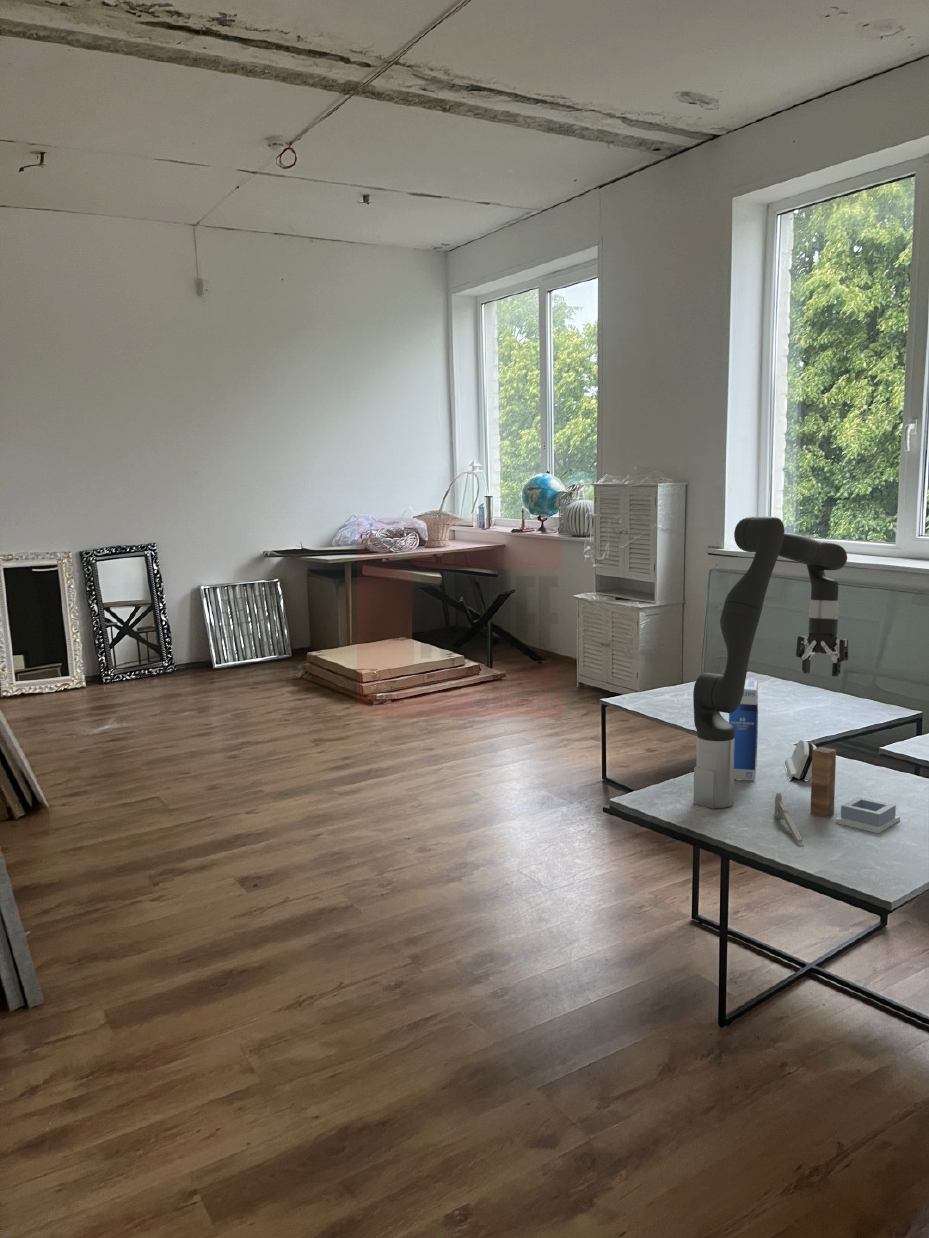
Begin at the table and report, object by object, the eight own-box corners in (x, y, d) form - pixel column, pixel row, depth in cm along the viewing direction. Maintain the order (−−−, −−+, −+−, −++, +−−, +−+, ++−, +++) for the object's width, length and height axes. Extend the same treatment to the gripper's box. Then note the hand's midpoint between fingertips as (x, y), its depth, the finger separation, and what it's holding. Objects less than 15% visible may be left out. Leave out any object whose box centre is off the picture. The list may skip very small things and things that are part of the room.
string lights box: (729, 766, 262) (731, 678, 258) (757, 768, 259) (759, 679, 256) (727, 779, 249) (728, 687, 246) (756, 782, 247) (758, 689, 244)
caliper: (774, 816, 221) (774, 791, 220) (778, 816, 221) (779, 791, 220) (799, 847, 201) (799, 820, 200) (804, 847, 201) (804, 820, 200)
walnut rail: (826, 817, 218) (828, 753, 216) (810, 813, 221) (812, 749, 219) (833, 813, 221) (836, 749, 219) (818, 809, 224) (820, 746, 222)
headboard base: (878, 833, 207) (879, 816, 207) (835, 822, 215) (836, 806, 214) (899, 820, 216) (900, 804, 215) (858, 810, 223) (858, 794, 222)
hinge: (783, 763, 263) (797, 732, 261) (799, 769, 262) (813, 738, 260) (788, 780, 247) (803, 747, 245) (806, 787, 246) (820, 754, 244)
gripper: (792, 615, 254) (790, 672, 255) (840, 618, 243) (837, 678, 244) (807, 615, 259) (804, 671, 260) (855, 618, 248) (852, 676, 249)
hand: (820, 674), depth 252 cm, fingers open, 8 cm apart
